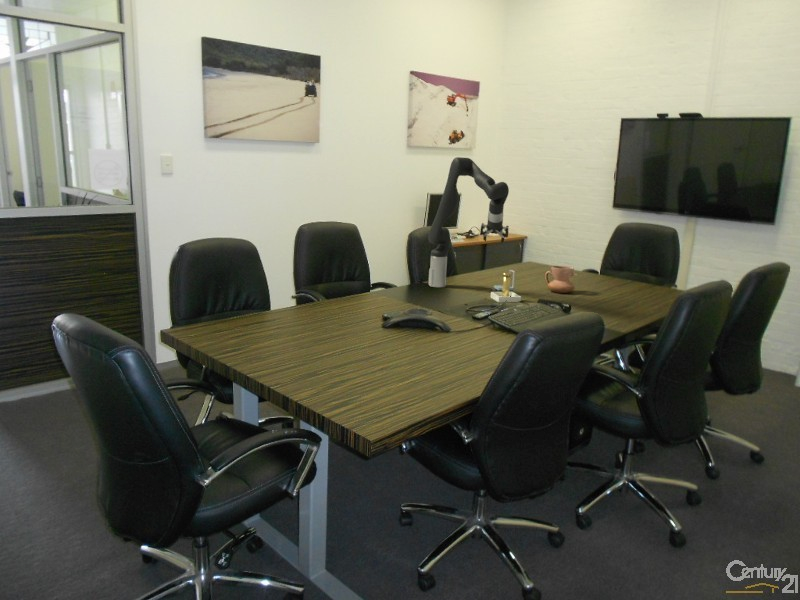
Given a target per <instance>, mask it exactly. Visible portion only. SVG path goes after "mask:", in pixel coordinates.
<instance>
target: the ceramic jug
mask: <svg viewBox="0 0 800 600" xmlns="http://www.w3.org/2000/svg"><path fill="white" fill-rule="evenodd" d="M550 269H551V270H548V271H546V272H545V274H544V275H545V276H544V277H545V281H546V284H547V288H548V290H549V291H551V292H553V293H558V294H567V293H571V292H573V291H574V290H575V289H576V286H575V285H574V283H572V282H571V281H570V279H571V278H572V277H575V278H576V277H577V276H578V274H577V273H574V269H575V268H574V267H572V266H566V265H552V266H551V267H550ZM549 274H550V275H551V276H552V278H553V279H552V280H551V281H549Z"/></svg>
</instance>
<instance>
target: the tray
mask: <svg viewBox="0 0 800 600" xmlns="http://www.w3.org/2000/svg"><path fill="white" fill-rule="evenodd" d="M514 292H515V291H514ZM514 292H509V297H502V292H493V291H491V292H490V298H491V299H493V301H495V302H497V303H506V302H505V301H506V300H507V301H508V302H507V303H519V302H518V301H521V302H522V296H521V295H519V294H517V293H516V292H515V293H514ZM510 296H511V297H510Z"/></svg>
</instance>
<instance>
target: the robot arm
mask: <svg viewBox="0 0 800 600" xmlns="http://www.w3.org/2000/svg"><path fill="white" fill-rule="evenodd" d="M450 163H451V164H450V167H449V171H448V175H447V176H448V177H447V180H446V183H445V186H444V190H443V194H442V196H441V199H440V202H439V205H438V209H437V212H436V213H435V214H436V215H435V217H434V220H433V222H432V224H431V226H430V228H429V231H428V242H429V243H430V244H431V245H437V247H436V248H434V249H432V250H431V252H430V261H429V262H430V268H429V269H428V285H429V286H430V287H433V288H445V287H446V285H447V265H448V254H449V249H450V239H451V233H450V230H449V229H448V227H445V226H444V224H445V223H446V222H447V220H448V219H449V218H451V217H452V215H453V214H454V213H455V212H456V210H457V208H458V204H459V201H460V194H459V192H458V188H457V183H458V179H459V177H461V176H462V177H467V176H468V177H471V178H473V180H474V183H475V185H476V186H477V187H479V188H480V189H482V191H484V193H485V195H486V196H487V198H488V199H489V200H490V201H489V206H488V214H487V224H484V223H483V222H482V223H481V226H480V232H479V233H480V235H481V236H483V239H482V240H483V241H484V242H487V236H488V235H490V234H496V235H499V237H501V239H500V244H503V243H504V242H505V238H509V225H505V226H504V225H503V224H504V208H505V207H504V206H505V203H506V201H507V199H508V196H509V194H510V193H509V192H510V191H509V190H510V189H509V186H508V184H507V183H506V182H504V181H500V182H497V183H496V181H495V179H493V178H492V177H491V176H489V175H488V174H487V173H485V172H484V171H483V170H482V169H481V168H480V166H478V165H477V163H476V162H475V161H474V160H473V159H471V158H470V157H459V156H456V157H455V158H453V159H452V161H451V162H450ZM443 226H444V227H443ZM485 229H486V230H485ZM504 232H505V233H504Z"/></svg>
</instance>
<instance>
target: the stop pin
mask: <svg viewBox="0 0 800 600" xmlns="http://www.w3.org/2000/svg"><path fill="white" fill-rule="evenodd" d="M502 277H503V279H502V285H503V290H502V297H509V291H510V286H511V280H510V277H513V272H511V273H509V272H502Z"/></svg>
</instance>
